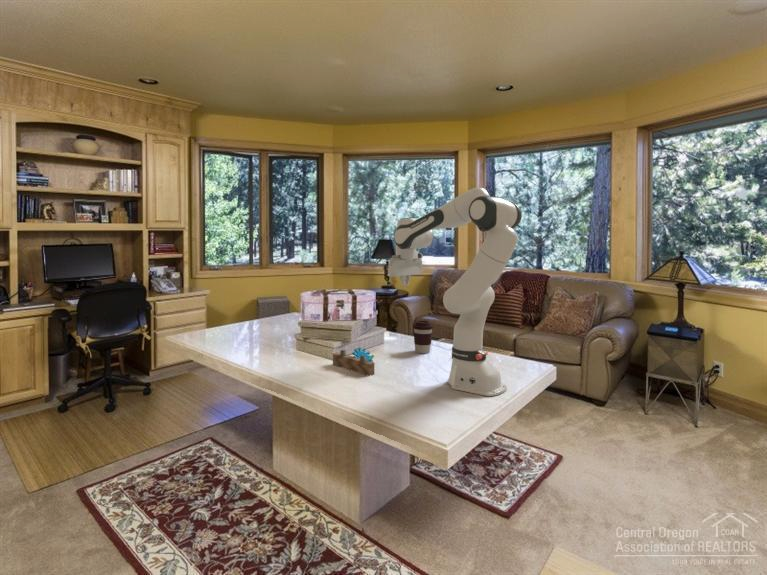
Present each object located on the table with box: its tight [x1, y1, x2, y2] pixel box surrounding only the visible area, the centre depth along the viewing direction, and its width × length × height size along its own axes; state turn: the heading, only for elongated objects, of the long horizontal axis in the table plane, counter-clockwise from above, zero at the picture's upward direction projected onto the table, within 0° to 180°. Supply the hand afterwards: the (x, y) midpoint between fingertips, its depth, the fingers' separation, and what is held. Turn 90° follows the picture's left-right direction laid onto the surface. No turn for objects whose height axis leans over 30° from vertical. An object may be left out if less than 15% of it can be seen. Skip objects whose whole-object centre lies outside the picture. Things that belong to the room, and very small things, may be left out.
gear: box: [351, 346, 375, 362], centre depth 195 cm, size 11×6×10 cm
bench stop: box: [332, 349, 375, 377], centre depth 189 cm, size 22×3×7 cm, turn 48°
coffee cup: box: [412, 319, 434, 354], centre depth 218 cm, size 10×10×15 cm
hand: (405, 285), depth 201 cm, fingers closed
